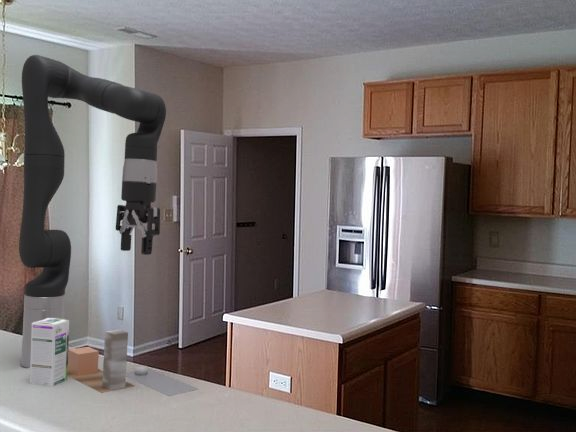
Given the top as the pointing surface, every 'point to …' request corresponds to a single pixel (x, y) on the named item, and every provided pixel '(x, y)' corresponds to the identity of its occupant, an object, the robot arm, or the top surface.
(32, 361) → the syrup box
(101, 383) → the base with upright panel
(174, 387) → the grey flat slab
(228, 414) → the top surface
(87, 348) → the terracotta block
